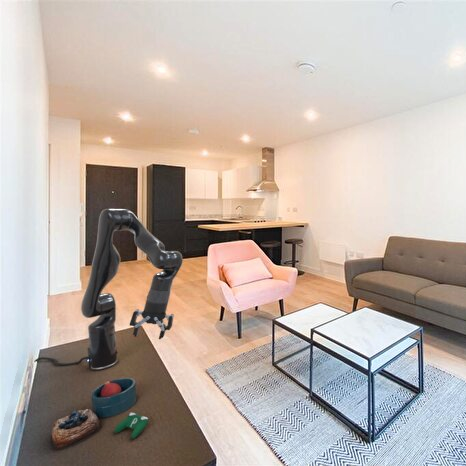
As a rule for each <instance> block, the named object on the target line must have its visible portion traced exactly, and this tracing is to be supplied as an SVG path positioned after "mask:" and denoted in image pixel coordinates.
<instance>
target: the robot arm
mask: <svg viewBox="0 0 466 466" xmlns="http://www.w3.org/2000/svg"><path fill="white" fill-rule="evenodd" d="M97 226H98V227H97V238H96V244H95V249H94V254H93V257H92V263H91V268H90V274H89V278H88V282H87V286H86V288H85V291H84V293H83V298H82V301H81V303H80V304H81V305H80V310H81V314H82V316H83V317H84V318H87V319H91V318H96V317H97V318H96V319H95V320H94V321H92V322H90V324H89V325H88V326H87V331H88V332H87V333H88V343H89V345H88V346H89V347H87V355H86V356H84V357H82V358H80V359H79V360H78V361H74V362H67V363H66V362H63V363H62V362H57V359H56V358H52V357H48V356H47V357H46V356H42V357H40V356H39V357H37V358H35V360H34V363H36V362H38V361H40V360H45V361H46V360H47V361H51V362H53V364H54V365H55V366H73V365H78V364H81V363H82V362H83V360H86V362H88V368H89V369H91V370H92V371H101V370H105V369H108V368H112V367H113V366H115V365H116V364H117V363H118V353H119V352H118V351H117V339H116V338H117V336H116V320H117V317H116V316H117V312H116V311H117V307H116V306H117V304H116V299H115V296H114V295H113V294H112V293H110V292H104V293H102V292H103V291H104V289H106V287H107V285H109V284H110V282H112V280H114V278H115V277H116V275H117V273H119V270H120V266H121V255H120V253H119V251H118V249H117V247H116V245H115V244H114V241H113V239H114V238H113V237H114V233H115V232H119V231H120V232H121V231H129V232H130V233H132V234H134V236H133V237H134V239H133V240H134V244H135V246H136V247H137V248H138V249H139V250H140V251H141V252H142V253H144V254H145V255H146V256H147V258H148V259H149V261H150V264H151V265H152V266H153V267H154V268H156V269H158V270H161V271H159V272H156V273H155V274H154V275H153V276H152V279H151V284H150V287H149V290H148V291H147V296H146V299H145V304H144V308H143V310H140V309H138V308H137V309H135V310H134V311H133V312H132V315H131V319H130V321H129V326H130V327H133V333H132V335H133V337H135V338H136V337H138V336H139V333H140V330H141V326H142V325H143V324H144V323H146V324H152V325H157V326H158V328H160V332H159V336H158V340H162V339H163V338H164V337H165V334H166V332H167V331H170V330H171V329H172V328H173V321H174V317H175V315H174V314H173V313H171V314H167V308H168V305H169V301H170V297H171V290H172V286H173V284H174V283H173V282H174V280H175V278H176V276H177V274H178V273H179V271H180V269H181V267H182V265H183V261H184V258H183V255H182V253H181V252H180V251H178V250H166V248H165V244H164V243H163V242H162V241H161V240H159V239H158V238H157V237H155V236H154V235H153V234H152V233H151V232H150V231H149V230H148V229H147V228H146V226H145V225H144V224H143V223H142V222H141V220H140V219H139V218H138V217H137V215H136V214H135V213H134V212H133V211H131V210H130V209H127V208H105V209H103V210H102V211H101V212H100V214H99V218H98V225H97ZM140 315H141V317H142V319H140V320H139V321H137V319H138V317H139V316H140ZM164 319H166V321H167V325H166V323H165V320H164Z"/></svg>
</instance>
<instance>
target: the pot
mask: <svg viewBox="0 0 466 466" xmlns="http://www.w3.org/2000/svg"><path fill="white" fill-rule="evenodd" d="M108 381H109V382H110V383H116V384H118V385H119V386H120V387H121V393H119V394H116V395H113V396H109V397H101V391H102V389H103V387H104V386H105V384H106V382H105V383H102V384H100V385H98V386H97V387H96V388H95V389H94V390H93V391H92V392H91V410H92V412H94V413H95V414H96V416H97V417H98V419H99V418H103V419H104V418H110V417H113V416H116V415H119V414H121V413H123V412H125V411H127V410H129V409H130V408H131V407H133V406H134V404H136V402H137V385H136V383H137V382H136V379H135V378H132V377H119V378H116V379H113V380H108Z"/></svg>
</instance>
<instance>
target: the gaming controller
mask: <svg viewBox="0 0 466 466" xmlns="http://www.w3.org/2000/svg"><path fill="white" fill-rule="evenodd" d="M148 422H149V417H147V416H144V415H141V414H138V413H135V412H129V414H128V415H127V416H126V417H125V418H124V419H123V420H121V422H119V424H117V425H116V427H115V428H114V433H116V434H118V433H120V432H122V431H123V430H125V429H127V428H129V429H132V432H131V435H130V439H133V440H134V439H136V438H137V437H138V436H139V435H140V434H141V433H142V432H143V430H144V429H145V428H146V426H147V425H148Z"/></svg>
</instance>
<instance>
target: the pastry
mask: <svg viewBox="0 0 466 466" xmlns="http://www.w3.org/2000/svg"><path fill="white" fill-rule="evenodd" d="M99 430H100V420H99V417H97V416H96V414H95V413H94V412H93V409H91V408H86V409H78V410H73V411H72V412H71V413H70V414H69V415H66V416H65V417H61V418H58V420H55V421H53V426H52V428H51V432H50V433H51V434H50V435H51V440H52V445H53V447H54V449H56V450H61V449H65V448H69V447H71V446H74V445H76V444H79V443H81V442H83V441H84V440H86V439H88V438H90V437H92V436H93V435H94V434H96V433H98V432H99Z"/></svg>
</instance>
